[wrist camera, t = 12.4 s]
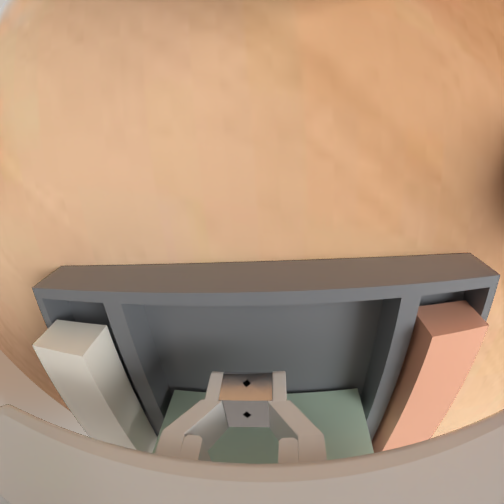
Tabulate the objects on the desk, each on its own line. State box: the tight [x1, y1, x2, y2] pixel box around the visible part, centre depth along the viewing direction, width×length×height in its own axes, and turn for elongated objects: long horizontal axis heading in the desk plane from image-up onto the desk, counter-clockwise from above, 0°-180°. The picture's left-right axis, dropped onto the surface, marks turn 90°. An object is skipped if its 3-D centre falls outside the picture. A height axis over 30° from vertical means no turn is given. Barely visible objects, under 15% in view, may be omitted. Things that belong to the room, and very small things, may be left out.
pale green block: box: [152, 388, 374, 464], centre depth 13 cm, size 11×3×6 cm, turn 94°
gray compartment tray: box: [32, 253, 500, 442], centre depth 15 cm, size 24×16×3 cm, turn 94°
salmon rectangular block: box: [372, 300, 489, 453], centre depth 13 cm, size 4×12×2 cm, turn 3°
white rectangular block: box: [32, 319, 158, 453], centre depth 14 cm, size 4×12×2 cm, turn 4°
